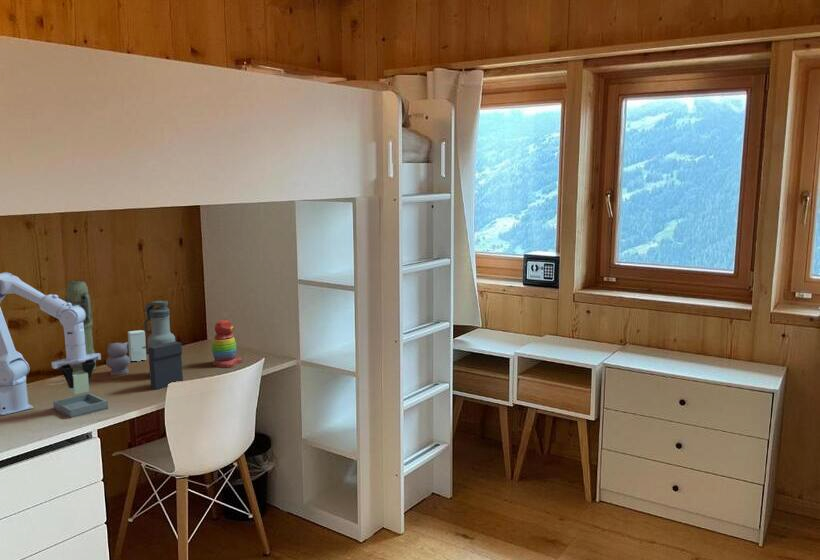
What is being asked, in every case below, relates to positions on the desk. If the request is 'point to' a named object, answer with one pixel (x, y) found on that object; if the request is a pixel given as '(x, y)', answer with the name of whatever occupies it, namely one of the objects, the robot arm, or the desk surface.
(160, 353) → the dark gray box
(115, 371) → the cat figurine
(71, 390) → the block
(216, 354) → the stacking bear
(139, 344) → the skincare box
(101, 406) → the bin
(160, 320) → the water bottle
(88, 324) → the thermos
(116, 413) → the desk surface
